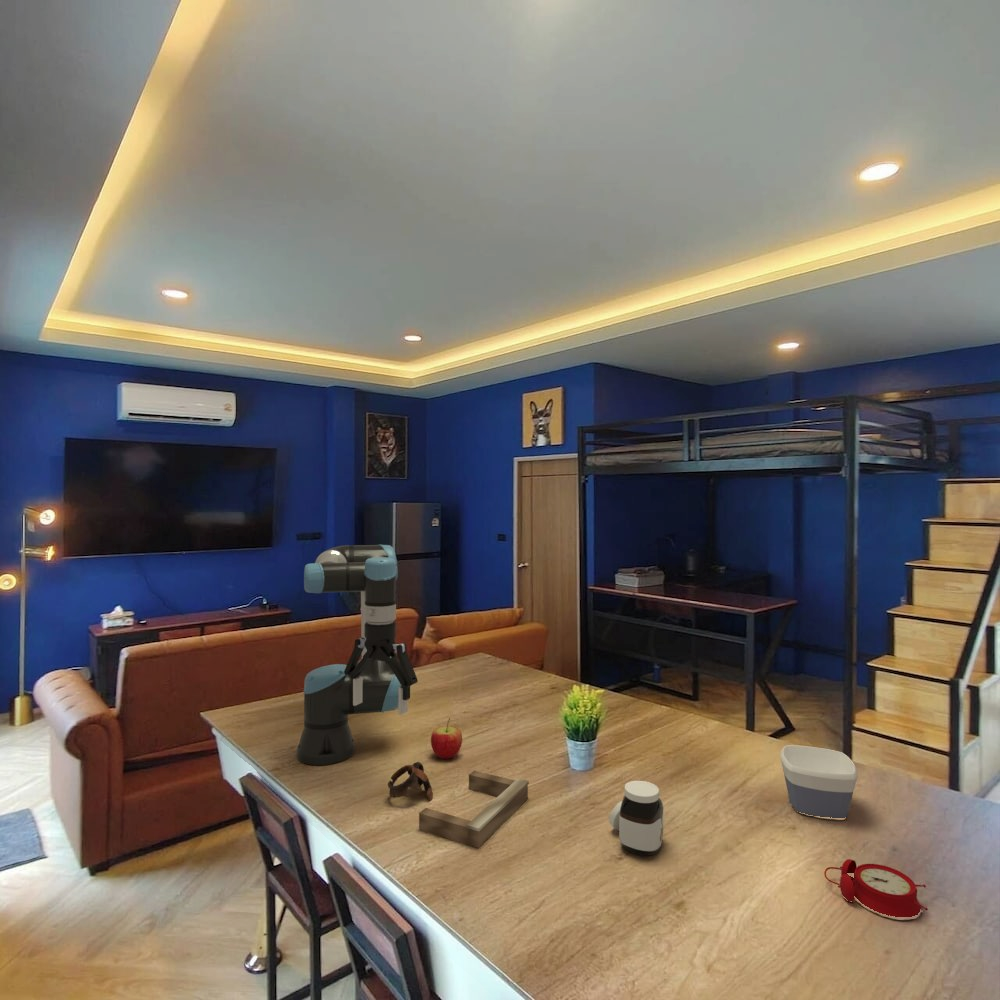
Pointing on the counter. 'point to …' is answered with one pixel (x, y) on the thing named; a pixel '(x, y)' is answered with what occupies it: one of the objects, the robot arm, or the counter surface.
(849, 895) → the alarm clock
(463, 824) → the walnut pocket
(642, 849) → the spread jar
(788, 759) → the bowl
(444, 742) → the apple
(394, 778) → the brown broken pot
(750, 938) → the counter surface
